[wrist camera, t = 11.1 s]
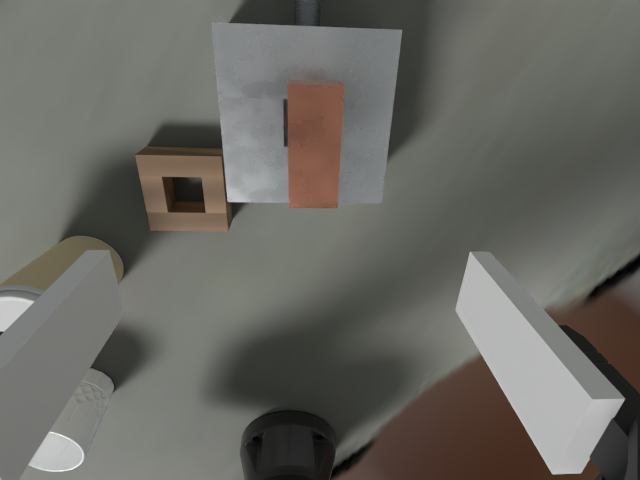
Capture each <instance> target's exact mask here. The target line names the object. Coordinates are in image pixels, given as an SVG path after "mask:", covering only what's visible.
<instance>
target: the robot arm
mask: <svg viewBox="0 0 640 480" xmlns="http://www.w3.org/2000/svg"><path fill="white" fill-rule="evenodd" d="M455 311H456V312H457V314H458V316H459V317H460V319H461V321H462V322H463V324H464V326H465V327H466V329H467V331H468V333H469V334H470V336H471V338H472V339H473V341H474V343H475V344H476V346H477V348H478V349H479V351H480V353H481V354H482V356H483V358H484V360H485V361H486V363H487V365H488V366H489V368H490V370H491V371H492V373H493V375H494V376H495V378H496V380H497V382H498V383H499V385H500V387H501V388H502V390H503V391H504V393H505V395H506V397H507V398H508V400H509V402H510V403H511V405H512V407H513V408H514V410H515V412H516V413H517V415H518V417H519V419H520V420H521V422H522V424H523V425H524V427H525V429H526V430H527V432H528V434H529V436H530V437H531V439H532V440H533V442H534V444H535V446H536V447H537V449H538V451H539V452H540V454H541V456H542V457H543V459H544V461H545V462H546V464H547V466H548V468H549V469H550V471H551V473H552V474H573V473H574V474H576V473H582V471H583V469H584V468H585V466H586V464H587V463H588V461H589V459H590V458H591V460H592V461H593V463H594V464H595V465H596V467H597V468H598V470H599V471H600V473H599V474H598V476H597V478H596V479H595V480H640V394H639V393H638V392H637V391H636V389H635V388H634V387H633V386H632V385H631V384H629V382H628V381H627V380H626V379H625V378H624V377H623V376H622V375H621V374H620V373H619V372H618V371H617V370H616V369H615V368H614V367H613V366H612V365H611V364H608V361H607V360H606V359H605V358H604V357H603V356H602V355H601V354H600V353H598V352H597V350H596V348H594V347H593V345H592V344H590V343H589V341H588V340H587V339H586V338H585V337H584V336H582V335H580V334H579V333H577V332H576V331H574V330H573V329H571V328H570V327H568V326H567V325H563V326H562V325H561V326H560V325H557V324H556V323H555V322H554V321H553V320H552V319H551V318H550V316H549V315H548V314H547V313H546V312H545V311H544V310H543V309H542V308H541V307H540V306H539V305H538V303H537V302H536V301H535V300H534V299H533V298H532V297H531V296H530V295H529V294H528V293H527V292H526V290H525V289H524V288H523V287H522V286H521V285H520V284H519V283H518V282H517V281H516V280H515V279H514V277H513V276H512V275H511V274H510V273H509V272H508V271H507V270H506V269H505V268H504V267H503V265H502V264H501V263H500V262H499V261H498V260H497V259H496V258H495V257H494V256H493V255H492V254H491V252H470V254H469V258H468V262H467V266H466V270H465V274H464V278H463V282H462V286H461V290H460V294H459V298H458V302H457V306H456V310H455ZM124 313H125V309H124V305H123V301H122V298H121V294H120V290H119V286H118V282H117V278H116V274H115V270H114V266H113V262H112V258H111V254H110V251H109V250H86V251H85V252H84V253H83V254H82V255H81V256H80V257H79V258H78V259H77V260H76V261H75V262H74V263H73V264H72V265H71V266H70V267H69V268H68V269H67V270H66V271H65V272H64V273H63V274H62V275H61V276H60V277H59V278H58V279H57V280H56V281H55V282H54V283H53V284H52V285H51V286H50V287H49V288H48V289H47V290H46V291H45V292H44V293H43V294H42V295H41V296H40V297H39V298H38V299H37V300H36V301H35V302H34V303H33V304H32V305H31V306H30V307H29V308H28V309H27V310H26V311H25V312H24V313H23V314H22V315H21V316H20V317H19V318H18V319H17V320H16V321H15V322H13V323H12V324H11V325H10V326H9V327H8V328H7V329H6V330H5V331H4V332H0V480H19V478H20V477H21V475H22V474H23V472H24V471H25V469H26V467H27V466H28V464H29V463H30V461H31V460H32V458H33V456H34V455H35V453H36V452H37V450H38V449H39V447H40V445H41V444H42V442H43V441H44V439H45V438H46V436H47V434H48V433H49V431H50V430H51V428H52V427H53V425H54V423H55V422H56V420H57V419H58V417H59V416H60V414H61V412H62V411H63V409H64V408H65V406H66V405H67V403H68V401H69V400H70V398H71V397H72V395H73V394H74V392H75V390H76V389H77V387H78V386H79V384H80V383H81V381H82V379H83V378H84V376H85V375H86V373H87V372H88V370H89V368H90V367H91V365H92V364H93V362H94V361H95V359H96V357H97V356H98V354H99V353H100V351H101V350H102V348H103V346H104V345H105V343H106V342H107V340H108V339H109V337H110V335H111V334H112V332H113V331H114V329H115V328H116V326H117V324H118V323H119V321H120V320H121V318H122V317H123V315H124ZM335 452H336V448H335V437H334V433H333V431H332V429H331V427H330V426H329V425H328V424H327V423H326V422H325V421H323V420H322V419H320V418H318V417H316V416H314V415H311V414H307V413H303V412H295V411H284V412H277V413H272V414H269V415H266V416H263V417H261V418H259V419H257V420H255V421H254V422H253V423H251V424H250V425H249V426H248V427H247V428H246V430H245V431H244V433H243V436H242V442H241V449H240V457H241V463H242V468H243V473H244V478H245V480H330V476H331V471H332V467H333V463H334V458H335Z"/></svg>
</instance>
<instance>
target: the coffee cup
mask: <svg viewBox="0 0 640 480" xmlns="http://www.w3.org/2000/svg"><path fill="white" fill-rule="evenodd" d="M86 250H109V251H110V254H111V258H112V262H113V266H114V270H115V274H116V278H117V282H118V285H119V283H120V281H121V279H122V277H123V272H124V267H123V263H122V260H121V258H120V256H119V255H118V253H117V252H116V251H115V250H114V249H113V248H112V247H111V246H110V245H108V244H107V243H105V242H103V241H101V240H99V239H96V238H93V237H89V236H73V237H69V238H67V239H65V240H63V241H61V242H60V243H58V244H57V245H55V246H54V247H52V248H51V249H49V250H48V251H47V252H45V253H44V254H42V255H41V256H40V257H38V258H37V259H35V260H34V261H32V262H31V263H30V264H28V265H27V266H25V267H24V268H23V269H21V270H20V271H18V272H17V273H16V274H14V275H13V276H11V277H10V278H9V279H7V280H6V281H4V282H3V283H2V284H0V332H4V331H5V330H6V329H7V328H8V327H9V326H10V325H11V324H12V323H13V322H15V321H16V320H17V319H18V318H19V317H20V316H21V315H22V314H23V313H24V312H25V311H26V310H27V309H28V308H29V307H30V306H31V305H32V304H33V303H34V302H35V301H36V300H37V299H38V298H39V297H40V296H41V295H42V294H43V293H44V292H45V291H46V290H47V289H48V288H49V287H50V286H51V285H52V284H53V283H54V282H55V281H56V280H57V279H58V278H59V277H60V276H61V275H62V274H63V273H64V272H65V271H66V270H67V269H68V268H69V267H70V266H71V265H72V264H73V263H74V262H75V261H76V260H77V259H78V258H79V257H80V256H81V255H82V254H83V253H84V252H85V251H86Z"/></svg>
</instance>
